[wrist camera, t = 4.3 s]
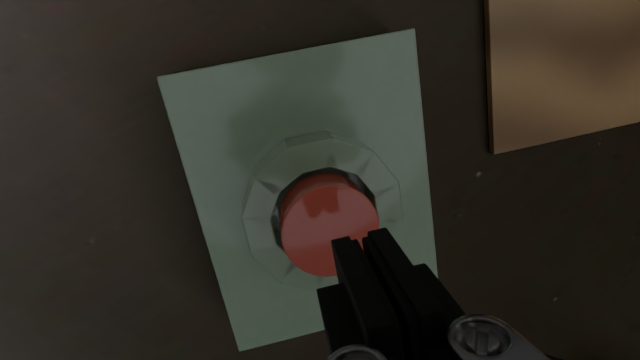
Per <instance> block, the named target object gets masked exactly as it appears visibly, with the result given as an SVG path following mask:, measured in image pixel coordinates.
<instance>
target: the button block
mask: <svg viewBox="0 0 640 360" xmlns="http://www.w3.org/2000/svg"><path fill="white" fill-rule="evenodd" d="M156 79H157V82H158V85H159V88H160V92H161V95H162V98H163V102H164V105H165V108H166V112H167V115H168V118H169V122H170V125H171V128H172V131H173V135H174V138H175V141H176V145H177V148H178V151H179V155H180V158H181V161H182V165H183V168H184V171H185V174H186V178H187V181H188V184H189V188H190V191H191V194H192V198H193V201H194V204H195V207H196V211H197V214H198V217H199V221H200V224H201V227H202V231H203V234H204V237H205V241H206V244H207V247H208V250H209V254H210V257H211V260H212V264H213V267H214V270H215V274H216V277H217V280H218V284H219V287H220V290H221V293H222V297H223V300H224V303H225V307H226V310H227V313H228V317H229V320H230V323H231V326H232V330H233V333H234V336H235V340H236V343H237V346H238V350H239V351H244V350H248V349H252V348H256V347H260V346H264V345H267V344H271V343H275V342H279V341H283V340H287V339H291V338H294V337H298V336H302V335H306V334H310V333H314V332H318V331H322V330H325V328H324V324H323V319H322V315H321V310H320V305H319V301H318V296H317V291H316V289H318V288H322V287H327V286H331V285H335V284H339V283H338V278H337V276H329V277H324V276H316V275H312V274H309V273H307V272H304V271H303V270H301V269H299V268H298V267H297V266H295V265H294V264H293V263H292V262H291V261H290V260H289V258H288V257H287V255H286V253H285V251H284V249H283V246H282V241H281V235H280V228H279V222H278V215H279V209H280V205H281V203H282V200H283V198H284V197H285V195H286V194H287V192H288V191H289V190H290V189H291V188H292V187H293V186H294V185H295V184H296V183H297V182H299V181H300V180H302V179H304V178H306V177H308V176H311V175H314V174H319V173H334V174H339V175H342V176H344V177H347V178H348V179H350V180H352V181H353V182H354V183H356V184H357V185H358V186H359V188H360V189H361V190H362V191H363V192H364V194H365V195H366V196H367V197H368V199H369V200H370V201H371V203H372V204H373V206H374V207H375V209H376V212H377V214H378V219H379V229H381V228H385V227H386V228H387V229H388V231H389V232H390V233H391V235H392V236H393V238H394V239H395V240H396V242H397V243H398V245H399V246H400V247H401V249H402V250H403V252H404V253H405V254H406V256H407V257H408V259H409V260H410V261H411V263H412V264H413V266H414V265H418V264H422V263H425V264H426V265H427V266H428V267H429V268H430V269H431V271H432V272H433V273H434V274H435V276H436V277H437V278H438V273H437V262H436V252H435V241H434V230H433V219H432V209H431V198H430V187H429V176H428V166H427V155H426V144H425V133H424V123H423V112H422V101H421V90H420V80H419V69H418V58H417V47H416V37H415V29H414V28H411V29H405V30H399V31H393V32H387V33H382V34H376V35H371V36H366V37H360V38H355V39H350V40H344V41H339V42H334V43H328V44H323V45H318V46H313V47H307V48H302V49H297V50H291V51H286V52H281V53H275V54H270V55H265V56H259V57H254V58H249V59H243V60H238V61H233V62H227V63H222V64H217V65H212V66H206V67H201V68H196V69H190V70H185V71H180V72H174V73H170V74H165V75H161V76H157V78H156Z"/></svg>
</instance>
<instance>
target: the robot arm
mask: <svg viewBox="0 0 640 360" xmlns="http://www.w3.org/2000/svg"><path fill="white" fill-rule="evenodd" d="M331 245H332V251H333V256H334V261H335V267H336V272H337V278H338V283H339V284H335V285H331V286H327V287H322V288H318V289H316V291H317V296H318V301H319V305H320V310H321V315H322V319H323V324H324V328H325V333H326V337H327V341H328V345H329V350H330V354H331V355H330V356H329V357H328V358H327V359H326V360H562V359H559V358H555V357H552V356H549V355H545V354H543V353H542V352H541V351H540V350H538V349H537V348H536V347H535V346H534V345H533V344H531V343H530V342H529V341H528V340H527V339H525V338H524V337H523V336H522V335H521V334H520V333H518V332H517V331H516V330H515V329H514V328H512V327H511V326H510V325H509V324H507V323H506V322H504V321H502V320H501V319H498V318H496V317H493V316H489V315H483V314H470V315H466V314H465V313H464V312H463V310H462V309H461V308H460V306H459V305H458V304H457V303H456V301H455V300H454V299H453V297H452V296H451V295H450V294H449V292H448V291H447V290H446V288H445V287H444V286H443V285H442V283H441V282H440V281H439V280H438V278H437V277H436V276H435V274H434V273H433V272H432V271H431V269H430V268H429V267H428V266H427V265H426V264H425V263H422V264H418V265H414V266H413V264H412V263H411V261H410V260H409V259H408V257H407V256H406V254H405V253H404V252H403V250H402V249H401V247H400V246H399V245H398V243H397V242H396V240H395V239H394V238H393V236H392V235H391V233H390V232H389V231H388V229H387V228H386V227H385V228H381V229H376V230H372V231H368V233H367V237H363V238H362V245H363V249H362V247H361V245H360V243H359V242H358V240H357V239H354V240H351V239H350V237H349V236H346V237H342V238H337V239H333V240H331Z"/></svg>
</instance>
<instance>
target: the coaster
mask: <svg viewBox="0 0 640 360" xmlns="http://www.w3.org/2000/svg"><path fill="white" fill-rule="evenodd" d="M484 25H485V50H486V75H487V101H488V126H489V152H490V153H492V154H499V153H503V152H508V151H512V150H517V149H521V148H526V147H530V146H534V145H539V144H543V143H548V142H552V141H557V140H561V139H566V138H570V137H574V136H579V135H583V134H588V133H592V132H597V131H601V130H606V129H610V128H614V127H619V126H623V125H628V124H632V123H637V122H640V0H484Z"/></svg>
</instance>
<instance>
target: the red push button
mask: <svg viewBox="0 0 640 360" xmlns="http://www.w3.org/2000/svg"><path fill="white" fill-rule="evenodd" d="M278 222H279V228H280V235H281V241H282V246H283V249H284V251H285V253H286V255H287V257H288V258H289V260H290V261H291V262H292V263H293V264H294V265H295V266H297V267H298V268H299V269H301V270H303V271H304V272H307V273H309V274H312V275H316V276H324V277H329V276H337V272H336V267H335V261H334V256H333V251H332V245H331V240H333V239H337V238H342V237H346V236H349V237H350V239H351V240H354V239H357V240H358V242H359V243H360V245H361V247H362V249H363V245H362V238H363V237H367V233H368V231H372V230H376V229H379V219H378V214H377V212H376V209H375V207H374V206H373V204H372V203H371V201H370V200H369V199H368V197H367V196H366V195H365V194H364V192H363V191H362V190H361V189H360V188H359V186H358V185H357V184H356V183H354V182H353V181H352V180H350V179H348V178H347V177H344V176H342V175H339V174H334V173H319V174H314V175H311V176H308V177H306V178H304V179H302V180H300V181H299V182H297V183H296V184H295V185H294V186H293V187H292V188H291V189H290V190H289V191H288V192H287V194H286V195H285V197H284V198H283V200H282V203H281V205H280V209H279V215H278Z"/></svg>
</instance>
